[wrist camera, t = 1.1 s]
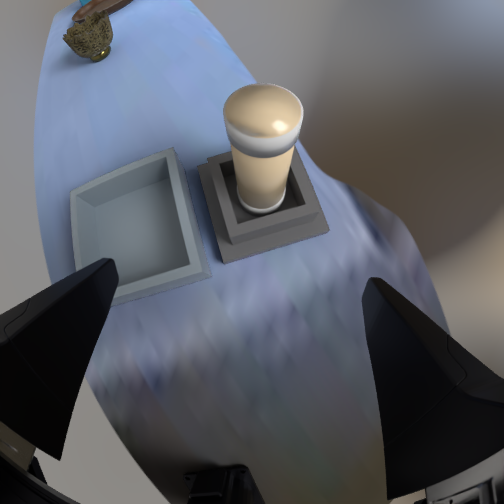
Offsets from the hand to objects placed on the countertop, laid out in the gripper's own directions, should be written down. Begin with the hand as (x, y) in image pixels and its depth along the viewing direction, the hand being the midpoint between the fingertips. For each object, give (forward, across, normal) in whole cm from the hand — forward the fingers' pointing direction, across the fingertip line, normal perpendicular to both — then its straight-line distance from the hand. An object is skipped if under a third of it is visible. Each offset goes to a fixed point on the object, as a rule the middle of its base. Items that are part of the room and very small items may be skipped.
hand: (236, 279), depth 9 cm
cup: (+32, +26, -15) cm, 44 cm away
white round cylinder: (+14, 0, +2) cm, 15 cm away
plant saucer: (+50, +37, -33) cm, 70 cm away
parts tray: (+12, +10, +6) cm, 17 cm away
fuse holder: (+15, 0, +3) cm, 15 cm away
